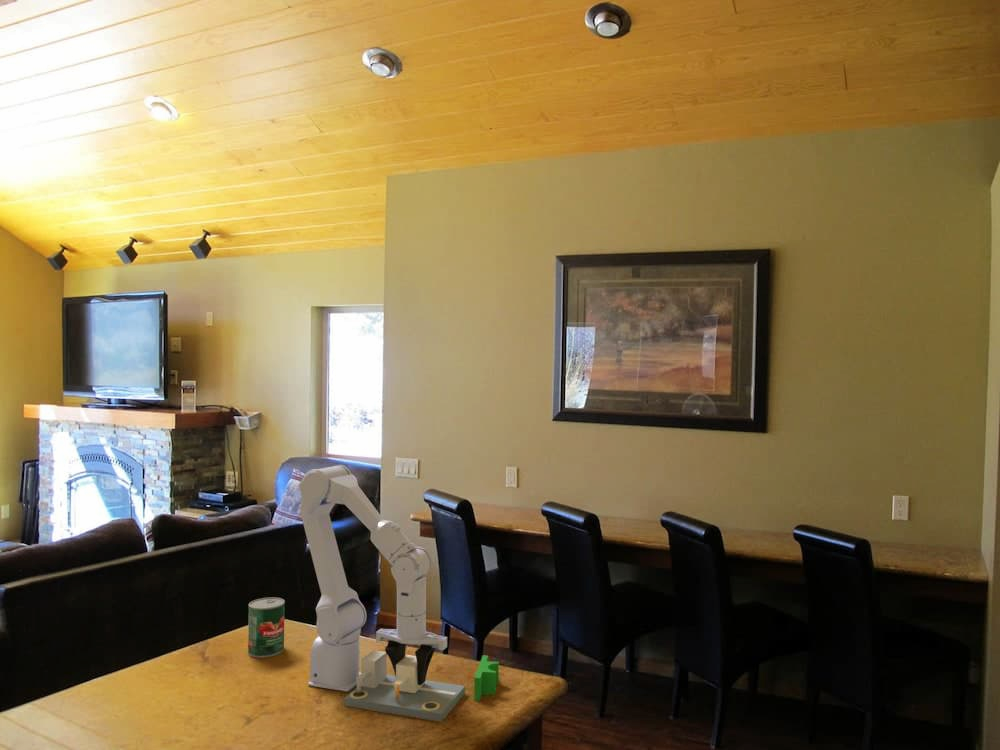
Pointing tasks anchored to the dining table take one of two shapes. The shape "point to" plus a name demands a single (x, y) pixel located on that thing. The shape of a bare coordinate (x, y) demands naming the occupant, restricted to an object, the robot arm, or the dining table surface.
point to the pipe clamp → (486, 678)
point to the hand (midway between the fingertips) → (410, 681)
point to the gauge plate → (400, 693)
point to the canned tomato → (266, 627)
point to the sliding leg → (407, 676)
